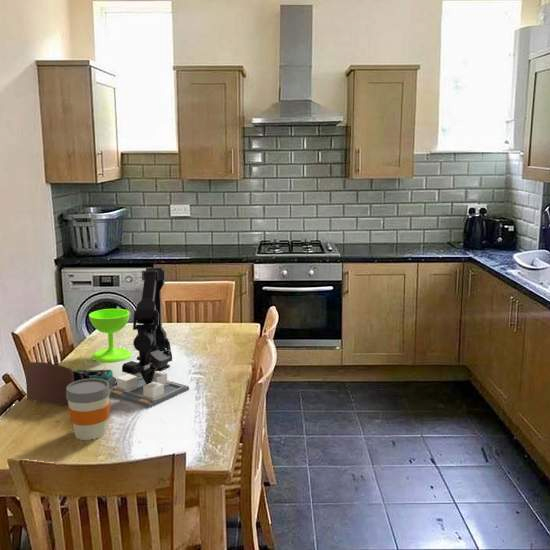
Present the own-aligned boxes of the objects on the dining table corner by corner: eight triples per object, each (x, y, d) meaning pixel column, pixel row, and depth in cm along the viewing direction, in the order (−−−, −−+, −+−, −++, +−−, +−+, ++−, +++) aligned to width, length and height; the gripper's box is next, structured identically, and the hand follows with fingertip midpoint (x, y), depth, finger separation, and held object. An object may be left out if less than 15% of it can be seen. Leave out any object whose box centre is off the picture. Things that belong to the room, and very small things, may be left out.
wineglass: (139, 355, 253) (137, 313, 249) (106, 365, 241) (104, 321, 237) (116, 347, 263) (114, 306, 260) (83, 356, 251) (80, 314, 248)
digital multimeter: (109, 383, 224) (109, 375, 223) (68, 383, 223) (68, 376, 223) (114, 376, 231) (113, 368, 230) (74, 376, 230) (74, 369, 230)
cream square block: (154, 392, 210) (154, 381, 210) (164, 395, 208) (163, 384, 207) (143, 397, 206) (143, 386, 206) (153, 400, 204) (152, 389, 203)
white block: (128, 384, 218) (127, 373, 217) (137, 387, 215) (137, 376, 214) (117, 388, 214) (117, 378, 213) (126, 391, 211) (126, 380, 210)
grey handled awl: (116, 384, 222) (109, 382, 223) (116, 377, 222) (109, 376, 222) (96, 399, 209) (89, 397, 209) (97, 391, 208) (90, 390, 209)
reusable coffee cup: (88, 446, 175) (85, 397, 172) (59, 436, 181) (56, 388, 178) (121, 430, 185) (118, 383, 182) (92, 420, 192) (89, 375, 189)
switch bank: (148, 378, 228) (148, 373, 227) (189, 389, 216) (188, 384, 216) (108, 394, 212) (108, 389, 212) (149, 407, 201) (149, 402, 201)
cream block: (158, 381, 221) (157, 370, 220) (167, 384, 218) (166, 373, 217) (147, 385, 217) (147, 374, 216) (157, 388, 214) (156, 377, 213)
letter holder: (74, 408, 201) (71, 367, 198) (26, 400, 208) (23, 360, 205) (93, 397, 210) (90, 358, 207) (47, 389, 217) (44, 351, 214)
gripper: (143, 353, 199) (145, 399, 202) (183, 340, 214) (184, 382, 217) (120, 347, 205) (122, 391, 208) (160, 334, 220) (161, 376, 223)
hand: (148, 385), depth 214 cm, fingers closed
